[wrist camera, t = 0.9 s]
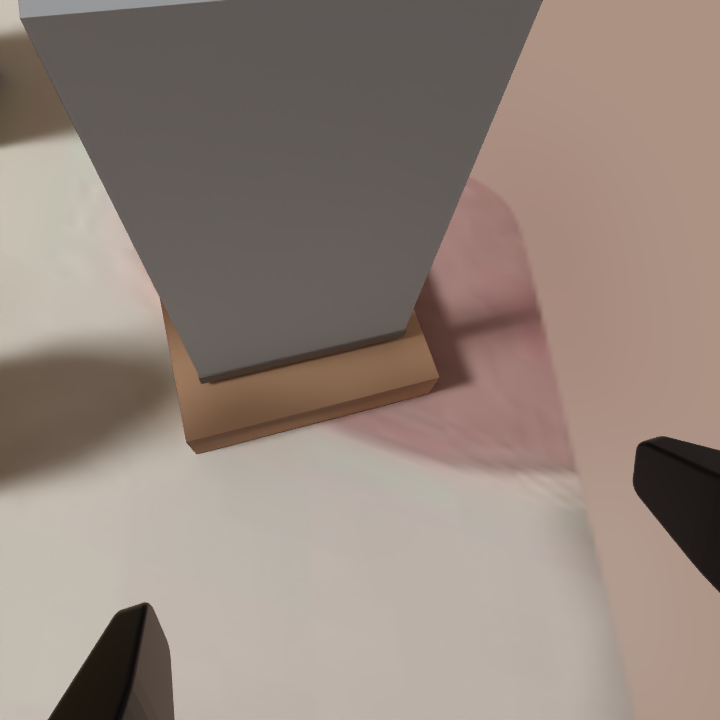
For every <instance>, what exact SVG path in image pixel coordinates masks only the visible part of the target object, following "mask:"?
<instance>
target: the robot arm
mask: <svg viewBox="0 0 720 720" xmlns="http://www.w3.org/2000/svg"><path fill="white" fill-rule="evenodd" d="M633 486H634V489H635V491H636V493H637V495H638V496H639V498H640V499H641V500H642V501H643V503H644V504H645V505H646V506H647V507H648V509H649V510H650V511H651V512H652V514H653V515H654V516H655V517H656V519H657V520H658V521H659V522H660V524H661V525H662V526H663V527H664V528H665V530H666V531H667V532H668V533H669V535H670V536H671V537H672V538H673V539H674V541H675V542H676V543H677V544H678V546H679V547H680V548H681V550H682V551H683V552H684V553H685V554H686V556H687V557H688V558H689V559H690V561H691V562H692V563H693V564H694V565H695V566H696V568H697V569H698V570H699V571H700V572H701V573H702V574H703V576H704V577H705V578H706V579H707V580H708V581H709V582H710V583H711V584H712V585H713V586H714V587H715V588H716V589H717V590H718V591H719V592H720V450H716V449H712V448H708V447H704V446H700V445H696V444H692V443H689V442H685V441H681V440H677V439H673V438H669V437H664V436H661V437H656V438H653V439H649V440H646V441H643V442H641V443H640V444H639V445H638V447H637V449H636V456H635V464H634V473H633ZM48 720H174V705H173V689H172V673H171V658H170V650H169V645H168V642H167V639H166V637H165V634H164V632H163V630H162V628H161V625H160V623H159V621H158V618H157V616H156V614H155V611H154V609H153V607H152V606H151V605H150V604H149V603H141V604H138V605H135V606H132V607H129V608H125V609H122V610H120V611H119V612H117V613H116V614H115V615H114V617H113V618H112V620H111V621H110V623H109V625H108V626H107V628H106V629H105V631H104V632H103V634H102V636H101V637H100V639H99V640H98V642H97V643H96V645H95V646H94V648H93V650H92V651H91V653H90V654H89V656H88V657H87V659H86V661H85V662H84V664H83V665H82V667H81V668H80V670H79V672H78V673H77V675H76V676H75V678H74V679H73V681H72V683H71V684H70V686H69V687H68V689H67V690H66V692H65V693H64V695H63V697H62V698H61V700H60V701H59V703H58V704H57V706H56V708H55V709H54V711H53V712H52V714H51V715H50V717H49V719H48Z"/></svg>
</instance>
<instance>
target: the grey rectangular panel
mask: <svg viewBox="0 0 720 720" xmlns="http://www.w3.org/2000/svg"><path fill="white" fill-rule="evenodd" d="M542 1H543V0H18V3H19V14H20V19H21V21H22V23H23V25H24V27H25V29H26V31H27V33H28V35H29V37H30V39H31V41H32V43H33V45H34V47H35V49H36V51H37V53H38V55H39V57H40V59H41V61H42V63H43V65H44V67H45V69H46V71H47V73H48V75H49V77H50V79H51V81H52V83H53V85H54V87H55V89H56V91H57V93H58V95H59V97H60V99H61V101H62V103H63V105H64V107H65V109H66V111H67V113H68V115H69V117H70V119H71V121H72V123H73V125H74V127H75V129H76V131H77V133H78V135H79V137H80V139H81V141H82V143H83V145H84V147H85V149H86V151H87V153H88V155H89V157H90V159H91V161H92V163H93V165H94V167H95V169H96V171H97V173H98V175H99V177H100V179H101V181H102V183H103V185H104V187H105V189H106V191H107V193H108V195H109V197H110V199H111V201H112V203H113V205H114V207H115V209H116V211H117V213H118V215H119V217H120V219H121V221H122V223H123V225H124V227H125V229H126V231H127V233H128V235H129V237H130V239H131V241H132V243H133V245H134V247H135V249H136V251H137V253H138V255H139V257H140V259H141V261H142V263H143V265H144V267H145V269H146V271H147V273H148V275H149V277H150V279H151V281H152V283H153V285H154V287H155V289H156V291H157V293H158V295H159V297H160V299H161V301H162V303H163V305H164V307H165V309H166V311H167V313H168V315H169V317H170V319H171V321H172V323H173V325H174V327H175V329H176V331H177V333H178V335H179V337H180V339H181V341H182V343H183V345H184V347H185V349H186V351H187V353H188V355H189V357H190V359H191V361H192V363H193V365H194V367H195V369H196V371H197V373H198V378H199V380H200V382H201V384H204V383H209V382H213V381H217V380H221V379H226V378H230V377H234V376H239V375H243V374H247V373H251V372H256V371H260V370H264V369H269V368H273V367H277V366H281V365H286V364H290V363H294V362H298V361H303V360H307V359H311V358H316V357H320V356H324V355H328V354H333V353H337V352H341V351H345V350H350V349H354V348H358V347H363V346H367V345H371V344H375V343H380V342H384V341H388V340H393V339H397V338H401V337H404V335H405V332H406V326H407V323H408V321H409V318H410V316H411V314H412V311H413V309H414V306H415V304H416V302H417V299H418V297H419V295H420V292H421V290H422V287H423V285H424V283H425V280H426V278H427V275H428V273H429V271H430V268H431V266H432V264H433V261H434V259H435V256H436V254H437V252H438V249H439V247H440V244H441V242H442V240H443V237H444V235H445V232H446V230H447V228H448V225H449V223H450V221H451V218H452V216H453V213H454V211H455V209H456V206H457V204H458V201H459V199H460V197H461V194H462V192H463V190H464V187H465V185H466V182H467V180H468V178H469V175H470V173H471V170H472V168H473V166H474V163H475V161H476V159H477V156H478V154H479V151H480V149H481V146H482V144H483V142H484V139H485V137H486V134H487V132H488V130H489V127H490V125H491V122H492V120H493V118H494V116H495V113H496V111H497V108H498V106H499V104H500V101H501V99H502V96H503V94H504V91H505V89H506V87H507V84H508V82H509V80H510V77H511V75H512V73H513V70H514V68H515V65H516V63H517V61H518V58H519V56H520V53H521V51H522V49H523V46H524V44H525V42H526V39H527V37H528V34H529V32H530V29H531V27H532V25H533V22H534V20H535V18H536V15H537V13H538V11H539V8H540V5H541V3H542Z"/></svg>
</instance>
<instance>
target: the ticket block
mask: <svg viewBox="0 0 720 720" xmlns="http://www.w3.org/2000/svg"><path fill="white" fill-rule="evenodd" d="M160 301H161V299H160ZM161 307H162V312H163V318H164V323H165V329H166V334H167V340H168V345H169V350H170V356H171V361H172V367H173V372H174V378H175V383H176V389H177V394H178V400H179V405H180V411H181V416H182V422H183V427H184V432H185V438H186V442H187V444H188V445H189V446H190V447H191V448H192V450H193V451H194V452H195V453H196V454H199V453H203V452H207V451H210V450H214V449H218V448H222V447H226V446H230V445H233V444H237V443H241V442H245V441H249V440H253V439H257V438H260V437H264V436H268V435H272V434H276V433H280V432H283V431H287V430H291V429H295V428H299V427H303V426H306V425H310V424H314V423H318V422H322V421H326V420H330V419H333V418H337V417H341V416H345V415H349V414H353V413H356V412H360V411H364V410H368V409H372V408H376V407H379V406H383V405H387V404H391V403H395V402H399V401H403V400H406V399H410V398H414V397H418V396H422V395H426V394H429V392H430V391H431V389H432V388H433V387H434V385H435V384H436V382H437V381H438V379H439V378H440V377H439V374H438V372H437V369H436V366H435V364H434V361H433V358H432V356H431V353H430V350H429V348H428V345H427V342H426V340H425V337H424V334H423V332H422V329H421V326H420V324H419V321H418V318H417V316H416V313H415V310H414V309H413V311H412V314H411V316H410V318H409V321H408V323H407V326H406V332H405V335H404V337H401V338H397V339H393V340H388V341H384V342H380V343H375V344H371V345H367V346H363V347H358V348H354V349H350V350H345V351H341V352H337V353H333V354H328V355H324V356H320V357H316V358H311V359H307V360H303V361H298V362H294V363H290V364H286V365H281V366H277V367H273V368H269V369H264V370H260V371H256V372H251V373H247V374H243V375H239V376H234V377H230V378H226V379H221V380H217V381H213V382H209V383H204V384H201V382H200V380H199V378H198V373H197V371H196V369H195V367H194V365H193V363H192V361H191V359H190V357H189V355H188V353H187V351H186V349H185V347H184V345H183V343H182V341H181V339H180V337H179V335H178V333H177V331H176V329H175V327H174V325H173V323H172V321H171V319H170V317H169V315H168V313H167V311H166V309H165V307H164V305H163V303H162V301H161Z"/></svg>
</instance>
